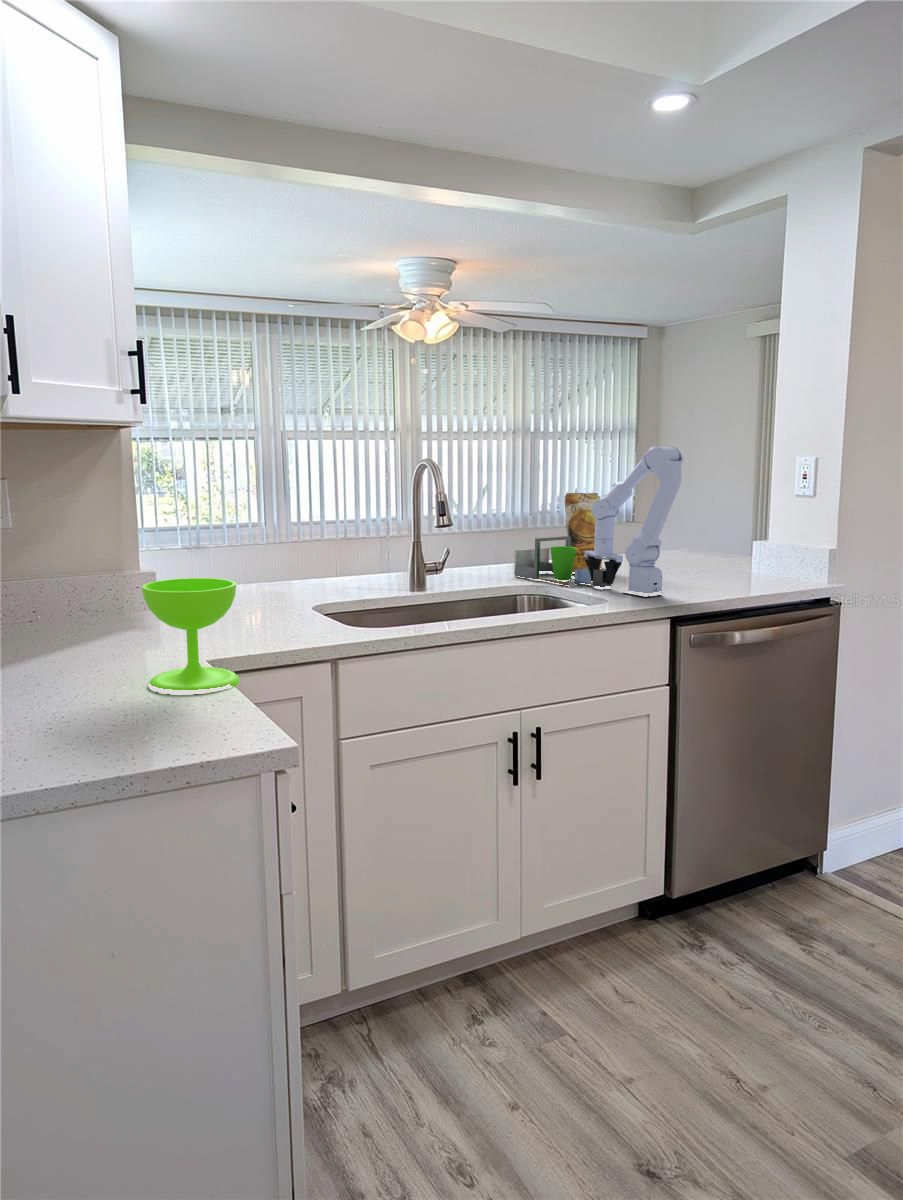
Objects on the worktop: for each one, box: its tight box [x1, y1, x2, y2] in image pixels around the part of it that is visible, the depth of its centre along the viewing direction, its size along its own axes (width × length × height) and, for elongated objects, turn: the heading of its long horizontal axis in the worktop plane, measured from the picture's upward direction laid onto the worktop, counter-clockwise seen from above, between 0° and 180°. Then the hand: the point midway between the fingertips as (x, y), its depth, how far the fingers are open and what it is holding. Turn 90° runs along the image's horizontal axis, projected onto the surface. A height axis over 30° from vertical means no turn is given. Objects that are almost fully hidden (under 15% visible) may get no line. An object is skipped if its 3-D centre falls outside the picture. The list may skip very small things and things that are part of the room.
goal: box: [513, 535, 571, 579], centre depth 282 cm, size 11×15×14 cm
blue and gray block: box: [573, 567, 612, 587], centre depth 263 cm, size 11×6×6 cm, turn 35°
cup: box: [549, 545, 577, 580], centre depth 274 cm, size 9×9×11 cm
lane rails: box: [537, 575, 575, 586], centre depth 273 cm, size 15×14×1 cm
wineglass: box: [141, 577, 241, 690], centre depth 150 cm, size 16×16×18 cm
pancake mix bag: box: [563, 492, 603, 572], centre depth 292 cm, size 7×19×28 cm, turn 124°
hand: (602, 582), depth 261 cm, fingers open, 6 cm apart
